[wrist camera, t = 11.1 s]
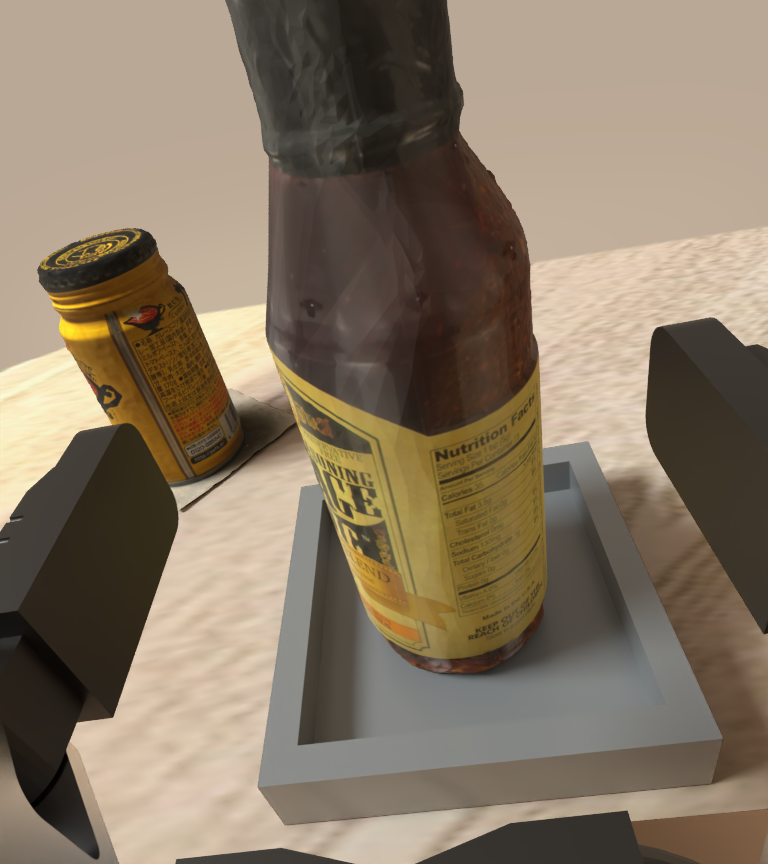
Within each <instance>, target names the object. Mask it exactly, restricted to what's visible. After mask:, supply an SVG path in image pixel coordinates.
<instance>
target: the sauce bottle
mask: <svg viewBox="0 0 768 864" xmlns="http://www.w3.org/2000/svg"><path fill="white" fill-rule="evenodd" d="M226 3H227V6H228V9H229V12H230V15H231V19H232V23H233V27H234V31H235V35H236V39H237V44H238V48H239V52H240V55H241V58H242V61H243V63H244V66H245V68H246V72H247V76H248V80H249V84H250V87H251V89H252V92H253V96H254V100H255V102H256V106H257V110H258V114H259V117H260V120H261V131H262V141H263V147H264V151H265V152H266V153H267V155H268V156H269V255H268V257H269V258H268V259H269V260H268V262H269V264H268V287H267V288H268V289H267V309H266V337H267V342H268V345H269V348H270V350H271V353H272V356H273V359H274V361H275V364H276V367H277V370H278V373H279V375H280V378H281V381H282V384H283V386H284V389H285V392H286V394H287V397H288V400H289V402H290V405H291V408H292V411H293V413H294V416H295V419H296V422H297V424H298V427H299V430H300V433H301V435H302V438H303V441H304V443H305V446H306V449H307V452H308V455H309V457H310V460H311V463H312V466H313V468H314V471H315V474H316V477H317V480H318V483H319V485H320V488H321V490H322V493H323V495H324V498H325V501H326V504H327V506H328V509H329V512H330V515H331V517H332V520H333V523H334V525H335V528H336V531H337V534H338V537H339V539H340V542H341V544H342V547H343V550H344V552H345V555H346V558H347V560H348V563H349V566H350V569H351V572H352V574H353V577H354V580H355V582H356V585H357V588H358V591H359V594H360V596H361V599H362V602H363V605H364V607H365V610H366V612H367V615H368V617H369V618H370V620H371V621H372V623H373V624H374V625H375V627H376V628H377V629H378V630H379V632H380V633H381V634H382V635H383V637H384V638H385V640H386V642H387V643H388V644H389V645H390V646H391V647H392V648H393V649H394V650H395V651H396V653H397V654H399V655H400V656H401V657H402V658H403V659H405V660H406V661H407V662H408V663H410V664H411V665H412V666H416V667H417V668H419V669H424V670H426V671H430V672H432V673H454V674H473V673H477V672H481V671H486V670H488V669H491V668H493V667H495V666H497V665H498V664H500V663H502V662H503V661H505V660H507V659H508V658H510V657H512V656H513V654H515V653H516V652H517V651H518V650H519V649H520V648H521V647H523V646H524V645H525V644H526V642H527V640H528V639H529V638H530V637H531V636H532V635H533V634H534V633H535V632H536V631H537V629H538V627H539V625H540V622H541V620H542V618H543V615H544V608H543V599H544V596H545V592H546V587H547V555H546V528H545V502H544V476H543V451H542V425H541V399H540V372H539V352H538V346H537V341H536V339H535V336H534V334H533V325H532V307H531V290H530V261H529V255H528V248H527V241H526V238H525V234H524V231H523V228H522V226H521V223H520V221H519V218H518V217H517V215H516V212H515V211H514V210H513V209H512V205H511V203H510V201H509V200H508V199H507V198H506V196H505V195H504V193H503V192H502V190H501V188H500V187H499V186H498V185H497V183H496V180H495V176H494V175H493V173H492V172H491V171H489V170H486V168H485V166H484V165H483V164H482V163H481V162H480V160H479V159H478V157H477V156H476V155H475V153H474V152H473V151H472V150H471V148H470V147H469V146H468V144H467V142H466V141H465V140H464V138H463V137H462V135H461V133H460V131H459V123H460V115H461V111H462V108H463V106H464V100H463V90H462V89H461V87H460V84H459V83H458V82H457V81H456V77H455V72H454V67H453V56H452V45H451V34H450V23H449V16H448V9H447V0H226Z"/></svg>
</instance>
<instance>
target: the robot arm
mask: <svg viewBox="0 0 768 864" xmlns="http://www.w3.org/2000/svg"><path fill="white" fill-rule="evenodd" d="M646 427H647V433H648V438H649V441H650V444H651V447H652V449H653V452H654V454H655V456H656V457H657V459H658V461H659V462H660V464H661V466H662V467H663V469H664V470H665V472H666V474H667V475H668V477H669V479H670V480H671V482H672V484H673V485H674V487H675V489H676V490H677V492H678V494H679V495H680V497H681V499H682V500H683V502H684V503H685V505H686V507H687V508H688V510H689V512H690V513H691V515H692V517H693V518H694V520H695V522H696V523H697V525H698V527H699V528H700V530H701V531H702V533H703V535H704V536H705V538H706V540H707V541H708V543H709V545H710V546H711V548H712V550H713V551H714V553H715V555H716V556H717V558H718V560H719V561H720V563H721V564H722V566H723V568H724V569H725V571H726V573H727V574H728V576H729V578H730V579H731V581H732V583H733V584H734V586H735V588H736V589H737V591H738V593H739V594H740V596H741V597H742V599H743V601H744V602H745V604H746V606H747V607H748V609H749V611H750V612H751V614H752V616H753V617H754V619H755V621H756V622H757V624H758V625H759V627H760V629H761V630H762V632H763V634H767V633H768V349H767V348H765V347H763V346H760V345H758V344H756V345H751V346H744V345H743V344H742V343H741V342H740V341H739V340H738V339H737V338H736V337H735V336H734V335H733V334H732V333H731V332H730V331H729V330H728V329H727V328H726V327H725V326H724V325H723V324H722V323H721V322H720V321H718V320H717V319H715V318H705V319H699V320H694V321H688V322H683V323H677V324H672V325H666V326H661V327H657V328H656V329H655V331H654V332H653V335H652V339H651V346H650V360H649V374H648V388H647V402H646ZM177 528H178V508H177V503H176V499H175V496H174V494H173V492H172V490H171V488H170V486H169V484H168V483H167V481H166V479H165V477H164V475H163V473H162V472H161V470H160V468H159V466H158V464H157V462H156V461H155V459H154V457H153V455H152V453H151V451H150V450H149V448H148V446H147V444H146V442H145V440H144V439H143V437H142V435H141V433H140V432H139V430H138V429H137V428H136V427H135V426H134V425H132V424H130V423H122V424H116V425H111V426H105V427H100V428H94V429H89V430H83V431H80V432H78V433H77V434H76V435H75V437H74V438H73V440H72V441H71V443H70V444H69V446H68V447H67V449H66V451H65V452H64V454H63V455H62V457H61V458H60V460H59V462H58V463H57V465H56V466H55V467H54V468H52V469H51V470H50V471H49V472H48V473H47V474H46V475H45V476H44V477H43V478H41V479H40V480H39V481H38V482H37V483H36V484H35V485H34V486H33V487H31V488H30V489H29V490H28V491H27V492H26V494H25V495H24V497H23V498H22V500H21V501H20V503H19V504H18V506H17V507H16V509H15V510H14V512H13V513H12V515H11V516H10V522H9V523H6V524H5V526H4V527H3V529H2V530H1V532H0V864H119V862H118V859H117V857H116V854H115V851H114V848H113V846H112V843H111V840H110V837H109V834H108V832H107V829H106V826H105V823H104V821H103V818H102V815H101V812H100V809H99V807H98V804H97V801H96V798H95V795H94V793H93V790H92V787H91V784H90V782H89V779H88V776H87V773H86V770H85V768H84V765H83V762H82V759H81V756H80V754H79V752H78V750H77V749H76V748H75V747H74V746H73V745H72V744H71V743H70V742H69V741H70V739H71V736H72V733H73V731H74V728H75V726H76V723H77V722H84V721H91V720H99V719H106V718H113V716H114V714H115V711H116V708H117V705H118V702H119V699H120V696H121V693H122V690H123V687H124V684H125V681H126V678H127V675H128V672H129V670H130V667H131V664H132V661H133V658H134V655H135V652H136V649H137V646H138V643H139V640H140V637H141V634H142V631H143V629H144V626H145V623H146V620H147V617H148V614H149V611H150V608H151V605H152V602H153V599H154V596H155V593H156V590H157V588H158V585H159V582H160V579H161V576H162V573H163V570H164V567H165V564H166V561H167V558H168V555H169V552H170V549H171V547H172V544H173V541H174V538H175V535H176V532H177ZM176 864H353V863H348V862H344V861H339V860H334V859H330V858H325V857H321V856H316V855H311V854H307V853H302V852H297V851H293V850H288V849H283V848H277V849H268V850H258V851H249V852H240V853H231V854H221V855H212V856H203V857H194V858H184V859H176ZM416 864H701V863H698V862H696V861H694V860H692V859H689V858H686V857H683V856H680V855H677V854H674V853H671V852H668V851H665V850H662V849H658V848H654V847H649V846H644V845H639V844H638V843H637V840H636V836H635V833H634V830H633V827H632V824H631V820H630V817H629V814H628V811H620V812H611V813H601V814H592V815H583V816H573V817H564V818H555V819H546V820H536V821H527V822H518V823H510V824H508V825H505V826H503V827H501V828H498V829H496V830H494V831H491V832H489V833H487V834H484V835H482V836H480V837H477V838H475V839H473V840H470V841H468V842H465V843H463V844H461V845H458V846H456V847H454V848H451V849H449V850H447V851H444V852H442V853H440V854H437V855H435V856H433V857H430V858H428V859H426V860H423V861H421V862H419V863H416ZM759 864H768V832H767V836H766V839H765V842H764V846H763V850H762V853H761V857H760V861H759Z"/></svg>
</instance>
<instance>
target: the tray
mask: <svg viewBox="0 0 768 864" xmlns="http://www.w3.org/2000/svg"><path fill="white" fill-rule="evenodd" d="M542 451H543V476H544V502H545V528H546V555H547V587H546V592H545V596H544V599H543V608H544V615H543V618H542V620H541V622H540V625H539V627H538V629H537V631H536V632H535V633H534V634H533V635H532V636H531V637H530V638H529V639H528V640H527V642H526V644H525V645H524V646H523V647H521V648H520V649H519V650H518V651H517V652H516V653H515V654H513V656H512V657H510V658H508V659H507V660H505V661H503V662H502V663H500V664H498V665H497V666H495V667H493V668H491V669H488V670H486V671H481V672H477V673H473V674H454V673H432V672H430V671H426V670H424V669H419V668H417V667H416V666H412V665H411V664H410V663H408V662H407V661H406V660H405V659H403V658H402V657H401V656H400V655H399V654H397V653H396V651H395V650H394V649H393V648H392V647H391V646H390V645H389V644H388V643H387V642H386V640H385V638H384V637H383V635H382V634H381V633H380V632H379V630H378V629H377V628H376V627H375V625H374V624H373V623H372V621H371V620H370V618H369V617H368V615H367V612H366V610H365V607H364V605H363V602H362V599H361V596H360V594H359V591H358V588H357V585H356V582H355V580H354V577H353V574H352V572H351V569H350V566H349V563H348V560H347V558H346V555H345V552H344V550H343V547H342V544H341V542H340V539H339V537H338V534H337V531H336V528H335V525H334V523H333V520H332V517H331V515H330V512H329V509H328V506H327V504H326V501H325V498H324V495H323V493H322V490H321V488H320V485H319V484H317V485H311V486H305V487H301V493H300V500H299V507H298V513H297V520H296V527H295V534H294V541H293V548H292V555H291V561H290V568H289V575H288V582H287V589H286V596H285V603H284V609H283V616H282V623H281V630H280V637H279V644H278V651H277V657H276V664H275V671H274V678H273V685H272V692H271V699H270V705H269V712H268V719H267V726H266V733H265V740H264V747H263V753H262V760H261V767H260V774H259V781H258V789H259V790H260V791H261V793H262V794H263V795H264V797H265V798H266V800H267V801H268V802H269V804H270V805H271V807H272V808H273V809H274V811H275V812H276V814H277V815H278V816H279V818H280V819H281V820H282V822H283V823H284V825H290V824H301V823H311V822H321V821H332V820H342V819H352V818H363V817H373V816H383V815H394V814H404V813H414V812H425V811H435V810H445V809H456V808H466V807H476V806H487V805H497V804H507V803H518V802H528V801H538V800H549V799H559V798H569V797H580V796H590V795H600V794H611V793H621V792H632V791H642V790H652V789H663V788H673V787H683V786H694V785H704V784H711V783H712V779H713V776H714V772H715V768H716V764H717V761H718V757H719V753H720V749H721V746H722V742H723V737H722V735H721V732H720V730H719V728H718V726H717V724H716V721H715V719H714V717H713V715H712V713H711V710H710V708H709V706H708V704H707V702H706V699H705V697H704V695H703V693H702V691H701V688H700V686H699V684H698V682H697V680H696V677H695V675H694V673H693V671H692V669H691V666H690V664H689V662H688V660H687V658H686V655H685V653H684V651H683V649H682V647H681V644H680V642H679V640H678V638H677V636H676V633H675V631H674V629H673V627H672V625H671V622H670V620H669V618H668V616H667V614H666V611H665V609H664V607H663V605H662V603H661V600H660V598H659V596H658V594H657V592H656V589H655V587H654V585H653V583H652V581H651V578H650V576H649V574H648V572H647V570H646V567H645V565H644V563H643V561H642V559H641V556H640V554H639V552H638V550H637V548H636V545H635V543H634V541H633V539H632V537H631V534H630V532H629V530H628V528H627V526H626V523H625V521H624V519H623V517H622V515H621V512H620V510H619V508H618V506H617V504H616V501H615V499H614V497H613V495H612V493H611V490H610V488H609V486H608V484H607V482H606V479H605V477H604V475H603V473H602V471H601V468H600V466H599V464H598V462H597V460H596V457H595V455H594V453H593V451H592V449H591V446H590V444H589V442H581V443H575V444H569V445H562V446H556V447H550V448H544V449H542Z"/></svg>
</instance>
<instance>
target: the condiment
mask: <svg viewBox="0 0 768 864" xmlns="http://www.w3.org/2000/svg"><path fill="white" fill-rule="evenodd" d="M156 244H157V243H156V240H155V239H154V238H153V237H152V235H151V234H150V233H149V232H146V231H144V230H142V229H136V228H134V229H121V230H115V231H111V232H106V233H103V234H99V235H95V236H92V237H89V238H86V239H83V240H80V241H78V242H74V243H72V244H70V245H68V246H66V247H64V248H62V249H60V250H58V251H56V252H54V253H52V254H51V255H50V256H48V257H47V258H46V259H44V260H43V261H42V262H41V264H40V266H39V267H38V270H37V271H38V274H39V282H40V283H41V285H42V286H43V288H44V289H45V290H46V291H47V292H48V294H49V296H50V298H51V299H52V304H53V307H54V308H55V310H56V311H58V312H59V313H60V314H61V322H60V324H59V330H60V334H61V335H62V337H63V339H64V341H65V342H66V347H67V349H68V350H69V351H70V352H71V354H72V355H73V357H74V359H75V360H76V362H77V364H78V366H79V368H80V369H81V371H82V372H83V374H84V376H85V378H86V379H87V381H88V383H89V384H90V386H91V388H92V389H93V391H94V393H95V395H96V397H97V400H98V402H99V403H100V404H101V406H102V408H103V409H104V411H105V413H106V414H107V416H108V418H109V420H110V422H111V423H112V425H116V424H122V423H130V424H132V425H134V426H135V427H136V428H137V429H138V430H139V432H140V433H141V435H142V437H143V439H144V440H145V442H146V444H147V446H148V448H149V450H150V451H151V453H152V455H153V457H154V459H155V461H156V462H157V464H158V466H159V468H160V470H161V472H162V473H163V475H164V477H165V479H166V481H167V483H168V484H169V486H170V488H171V490H172V492H173V494H174V496H175V499H176V503H177V508H178V511H179V510H180V509H181V508H183V507H184V506H185V505H187V504H188V503H190V502H191V501H193V500H194V499H196V498H197V497H198V496H200V495H201V494H203V493H204V492H206V491H207V490H209V489H210V488H211V487H212V486H213V485H214V484H216V483H218V482H220V481H221V480H222V479H224V478H225V477H227V476H228V475H229V474H230V473H231V472H232V471H234V470H236V469H237V468H238V467H239V466H240V465H241V464H243V463H244V462H245V461H247V460H248V459H249V458H250V457H251V456H252V455H253V454H254V453H255V452H256V451H258V450H260V449H262V448H263V447H265V446H266V445H267V444H268V443H270V442H271V441H273V440H274V439H276V438H277V437H278V436H280V435H281V434H282V433H283V432H284V431H285V430H286V429H287V428H288V427H289V426H291V425H292V424H294V423H295V422H296V419H295V416H294V414H290V413H287V412H284V411H282V410H280V409H277V408H274V407H271V406H269V405H267V404H264V403H262V402H258V401H257V400H255V399H253V398H251V397H249V396H246V395H243V394H241V393H240V392H237V391H235V390H233V389H228V390H227V388H226V386H225V383H224V381H223V378H222V376H221V373H220V371H219V369H218V366H217V364H216V362H215V359H214V357H213V355H212V352H211V350H210V348H209V345H208V343H207V340H206V338H205V336H204V333H203V331H202V328H201V326H200V324H199V321H198V319H197V317H196V314H195V312H194V309H193V307H192V304H191V302H190V300H189V298H188V295H187V293H186V291H185V289H184V287H183V286H182V285H181V284H180V283H178V281H176V280H175V279H173V278H172V277H171V276H169V275H168V266H167V264H166V263H165V261H164V260H163V259H162V258H161V257H160V255H159V252H158V248H157V246H156ZM247 445H248V446H247Z"/></svg>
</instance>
